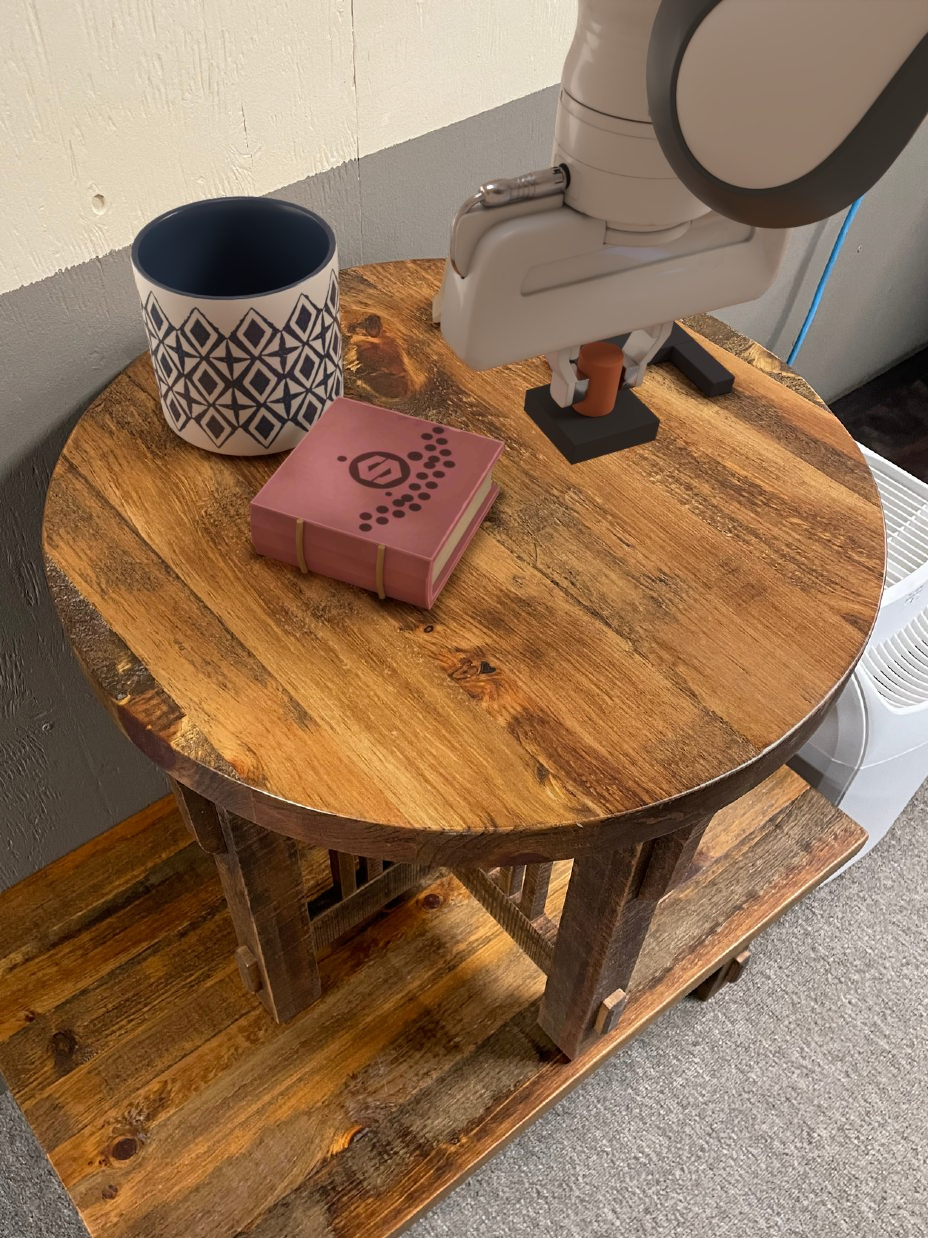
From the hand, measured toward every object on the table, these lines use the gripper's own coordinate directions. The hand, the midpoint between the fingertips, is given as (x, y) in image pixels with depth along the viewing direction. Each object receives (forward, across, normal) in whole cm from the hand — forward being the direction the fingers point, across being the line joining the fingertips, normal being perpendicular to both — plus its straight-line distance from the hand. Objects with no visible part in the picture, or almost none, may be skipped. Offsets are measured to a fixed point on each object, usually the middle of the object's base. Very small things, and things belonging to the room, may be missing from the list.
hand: (595, 391), depth 60 cm
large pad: (+17, +21, +21) cm, 34 cm away
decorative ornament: (+18, +8, +37) cm, 42 cm away
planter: (+18, -13, +31) cm, 38 cm away
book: (+17, -9, +12) cm, 23 cm away
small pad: (+2, 0, 0) cm, 2 cm away
